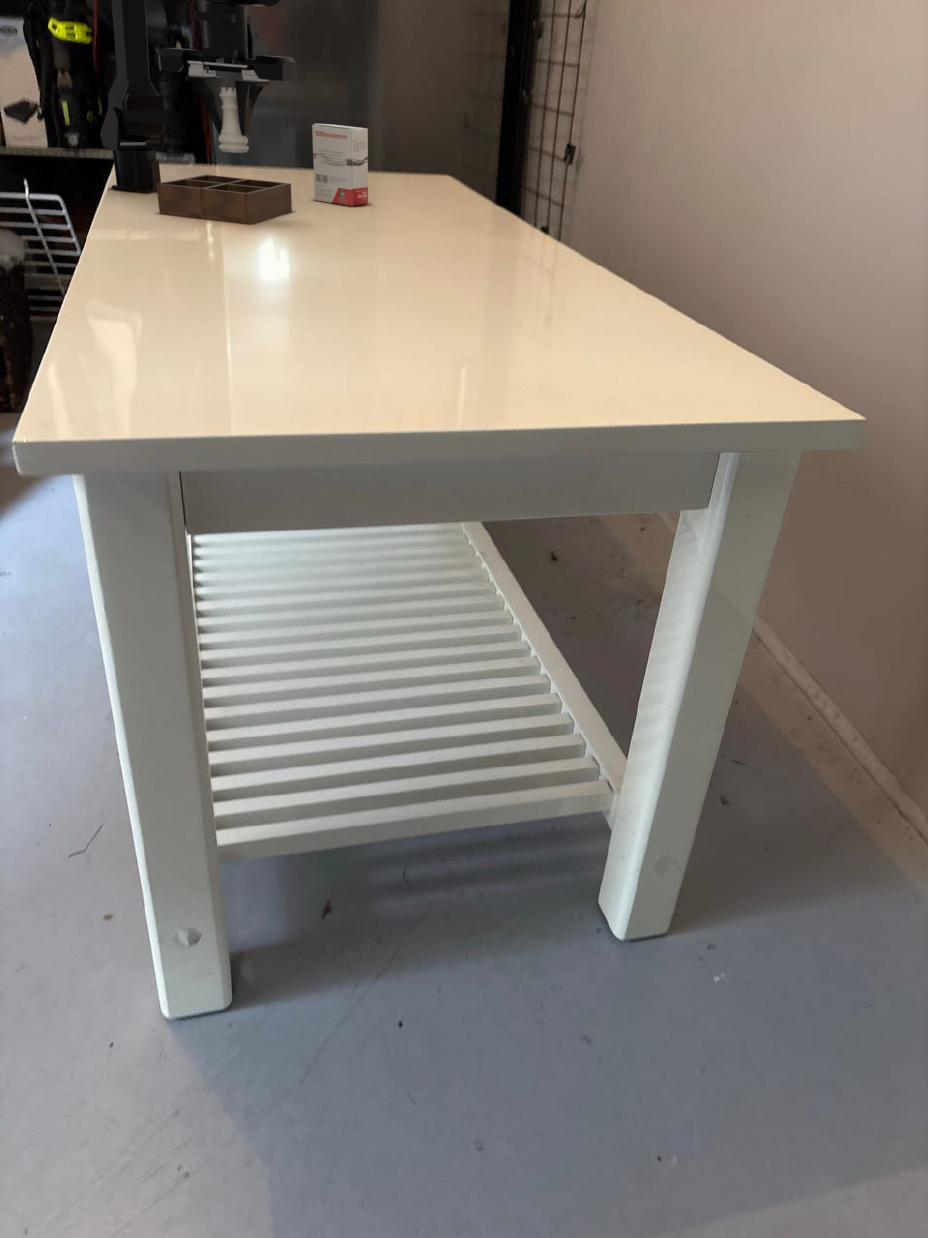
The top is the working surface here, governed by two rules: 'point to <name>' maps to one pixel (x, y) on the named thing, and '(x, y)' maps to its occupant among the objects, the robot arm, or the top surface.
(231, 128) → the rook chess piece
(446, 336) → the top surface
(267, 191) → the organizer
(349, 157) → the ink box
